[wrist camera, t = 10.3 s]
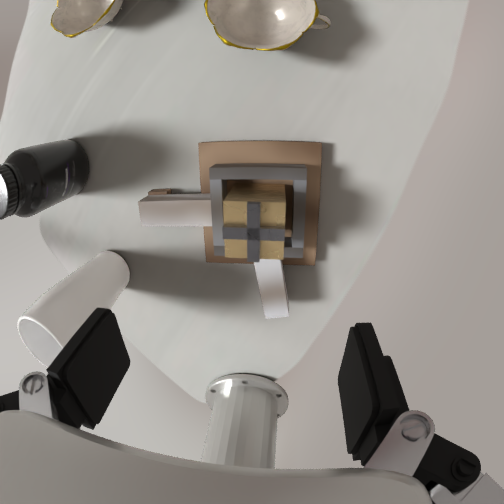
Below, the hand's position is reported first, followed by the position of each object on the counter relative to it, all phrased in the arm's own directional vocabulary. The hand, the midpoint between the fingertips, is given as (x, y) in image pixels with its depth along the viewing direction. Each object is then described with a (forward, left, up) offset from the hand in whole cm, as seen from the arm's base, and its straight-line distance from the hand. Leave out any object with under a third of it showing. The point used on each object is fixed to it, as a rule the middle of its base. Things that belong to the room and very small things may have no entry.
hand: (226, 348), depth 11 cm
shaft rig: (-2, +3, -19) cm, 20 cm away
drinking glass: (-8, +18, -20) cm, 28 cm away
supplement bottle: (+5, +22, -20) cm, 30 cm away
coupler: (0, 0, -18) cm, 18 cm away
